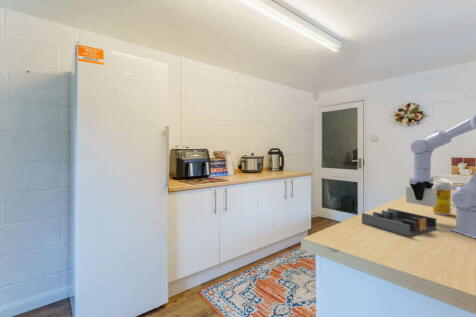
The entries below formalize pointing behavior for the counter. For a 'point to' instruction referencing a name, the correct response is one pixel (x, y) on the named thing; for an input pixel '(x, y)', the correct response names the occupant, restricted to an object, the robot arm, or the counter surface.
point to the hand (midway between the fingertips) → (421, 199)
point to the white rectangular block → (428, 197)
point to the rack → (400, 222)
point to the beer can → (442, 198)
